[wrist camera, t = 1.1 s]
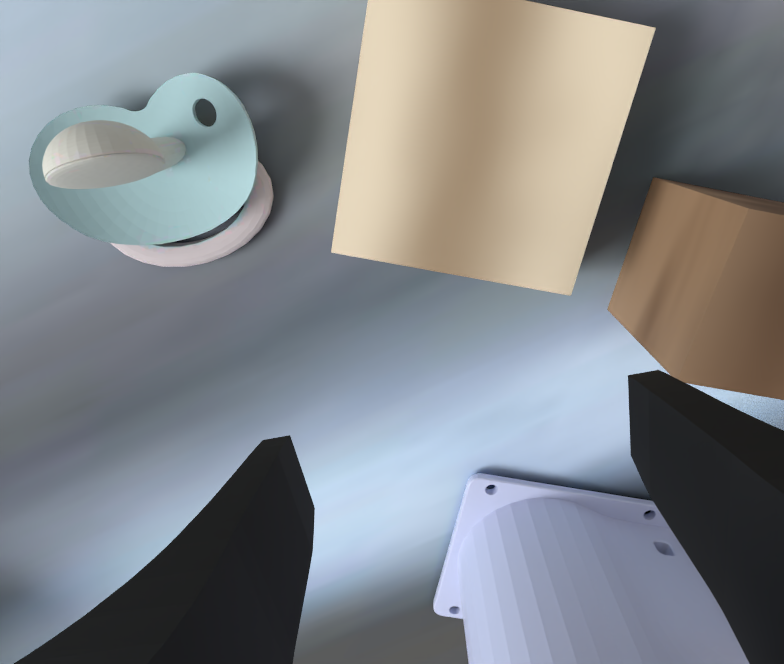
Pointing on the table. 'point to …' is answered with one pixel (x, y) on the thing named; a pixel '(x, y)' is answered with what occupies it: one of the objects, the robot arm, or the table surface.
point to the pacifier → (156, 174)
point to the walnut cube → (707, 287)
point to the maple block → (485, 136)
